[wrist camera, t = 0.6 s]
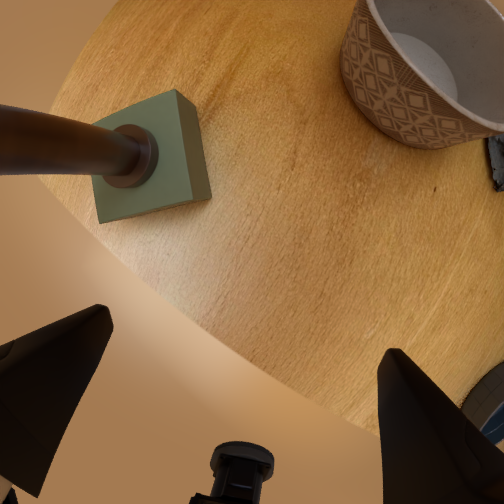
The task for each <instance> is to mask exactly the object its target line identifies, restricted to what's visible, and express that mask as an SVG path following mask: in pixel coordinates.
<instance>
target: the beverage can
mask: <svg viewBox="0 0 504 504" xmlns="http://www.w3.org/2000/svg"><path fill="white" fill-rule="evenodd" d="M488 139H489V143H490V145H489V143H488V146H489V148H488V149H489V150H490V152H489V153H490V154H491V155H490V159H491V158H492V159H491V161H492V162H491V165H492V168H495V169H496V170H495V171H493V172H494V174H493V178H494V181H495V179H497V181H496V187H497V189H495V187H493V188H494V189H495V190H496V191H497V192H501V191H504V134H500V135H495V136H491V137H488ZM490 148H491V149H490ZM492 170H493V169H492Z"/></svg>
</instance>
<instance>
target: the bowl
mask: <svg viewBox="0 0 504 504" xmlns="http://www.w3.org/2000/svg"><path fill="white" fill-rule="evenodd" d="M461 411H462V412H463V413H464V414H465V415H466V417H467V418H468V419H469V420H470V421H471V422H472V423H473V424H474V425H475V426H476V427H477V428H478V429H479V430H480V431H481V432H482V433H483V434H484V435H485V436H486V437H487V438H488V439H489V440H490V441H491V442H492V443H493V444H494V445H495V446H496V445H497V444H499V443H500V442H502V441H503V440H504V362H503V363H501V364H499V365H498V366H496V367H495V368H494V369H492V370H491V371H490V372H489V373H488V374H487V375H486V376H485V377H484V378H483V379H482V380H481V381H480V382H479V383H478V384H477V385H476V387H475V388H474V389H473V390H472V392H471V393H470V394H469V396H468V397H467V399H466V401H465V402H464V404H463V406H462V409H461Z"/></svg>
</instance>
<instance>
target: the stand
mask: <svg viewBox="0 0 504 504" xmlns="http://www.w3.org/2000/svg"><path fill="white" fill-rule="evenodd" d="M125 124H134V125H137V126H140V127H142V128H145V129H147V130H148V131H150V132H151V133H152V134H153V136H154V137H155V139H156V141H157V144H158V150H159V157H158V162H157V165H156V168H155V170H154V172H153V174H152V175H151V177H150V178H149V179H148V180H147V181H146V182H145V183H143V184H142V185H140V186H138V187H135V188H115V187H112V186H111V185H109V184H108V183H107V182H106V181H105V180H104V179H103V177H102V175H91V177H92V184H93V191H94V197H95V203H96V209H97V215H98V220H99V224H102V223H107V222H112V221H117V220H122V219H128V218H132V217H136V216H139V215H143V214H147V213H151V212H155V211H159V210H163V209H167V208H171V207H176V206H180V205H184V204H189V203H193V202H197V201H202V200H207V199H211V198H212V196H211V190H210V185H209V180H208V174H207V169H206V163H205V158H204V152H203V147H202V141H201V135H200V129H199V123H198V117H197V111H196V106H195V105H194V104H192V103H191V102H190V101H189V100H188V99H187V98H185V97H184V96H183V95H182V94H181V93H180V92H178V91H177V90H176V89H173V90H170V91H167V92H165V93H162V94H159V95H156V96H154V97H151V98H149V99H146V100H144V101H141V102H139V103H136V104H134V105H131V106H129V107H127V108H125V109H122V110H120V111H118V112H116V113H113V114H111V115H109V116H107V117H105V118H103V119H101V120H99V121H97V122H95V123H93V124H91V125H94V126H98V127H102V128H105V129H109V130H114V129H115V128H117V127H119V126H121V125H125Z"/></svg>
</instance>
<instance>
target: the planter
mask: <svg viewBox="0 0 504 504" xmlns="http://www.w3.org/2000/svg"><path fill="white" fill-rule="evenodd" d="M340 68H341V73H342V77H343V80H344V83H345V85H346V88H347V90H348V92H349V94H350V96H351V97H352V99H353V101H354V102H355V104H356V105H357V106H358V108H359V109H360V110H361V112H362V113H363V114H364V115H365V116H366V117H367V118H368V119H369V120H370V121H371V122H372V123H373V124H374V125H375V126H376V127H378V128H379V129H380V130H381V131H383V132H384V133H385V134H387V135H388V136H390V137H392V138H393V139H395V140H397V141H399V142H401V143H403V144H406V145H409V146H412V147H415V148H420V149H429V150H430V149H441V148H445V147H449V146H453V145H457V144H461V143H465V142H469V141H473V140H477V139H482V138H486V137H491V136H495V135H500V134H504V17H503V15H502V14H501V13H500V12H499V11H498V10H497V9H496V7H495V6H494V5H493V4H492V3H491V2H490V1H489V0H357V1H356V4H355V7H354V10H353V13H352V16H351V19H350V22H349V25H348V28H347V31H346V34H345V37H344V40H343V43H342V46H341V51H340Z"/></svg>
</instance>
